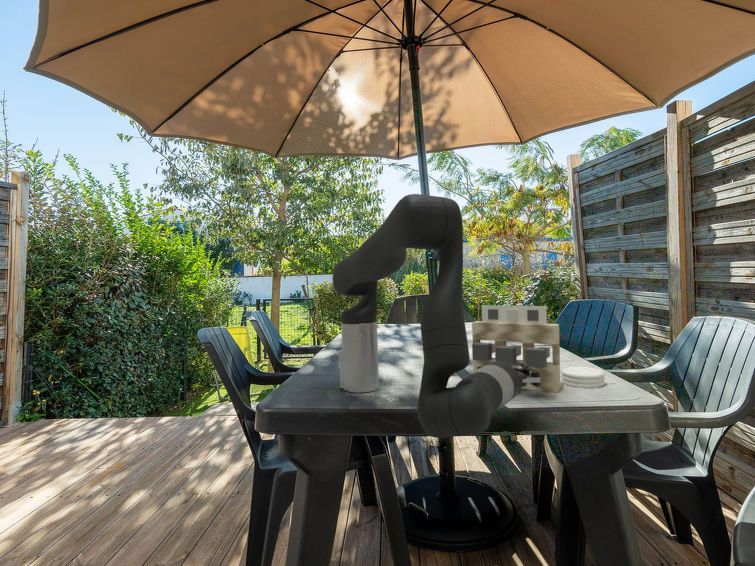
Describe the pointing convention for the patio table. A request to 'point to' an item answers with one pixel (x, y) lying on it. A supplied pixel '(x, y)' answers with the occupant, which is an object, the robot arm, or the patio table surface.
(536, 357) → the button right
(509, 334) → the board
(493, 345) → the button left
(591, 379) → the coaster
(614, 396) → the patio table surface
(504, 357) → the button mid
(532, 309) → the card
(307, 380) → the patio table surface
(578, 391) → the patio table surface
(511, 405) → the patio table surface
